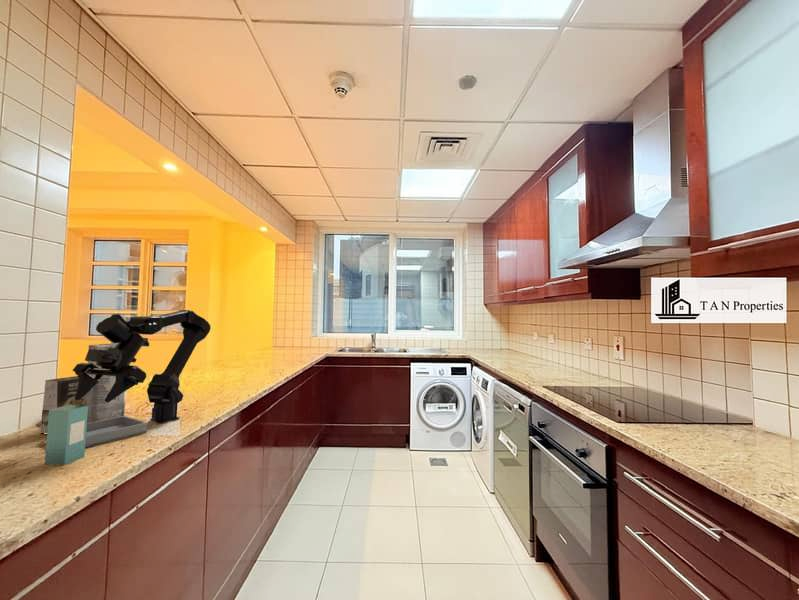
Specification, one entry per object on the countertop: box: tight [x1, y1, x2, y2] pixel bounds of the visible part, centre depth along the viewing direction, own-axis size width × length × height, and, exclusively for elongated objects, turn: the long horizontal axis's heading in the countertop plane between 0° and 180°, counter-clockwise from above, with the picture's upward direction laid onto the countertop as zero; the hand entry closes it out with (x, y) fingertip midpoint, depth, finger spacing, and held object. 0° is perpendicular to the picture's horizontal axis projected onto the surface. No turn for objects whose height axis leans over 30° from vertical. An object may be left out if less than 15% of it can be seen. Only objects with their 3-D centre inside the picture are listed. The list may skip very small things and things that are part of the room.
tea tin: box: [44, 405, 88, 466], centre depth 86 cm, size 5×5×13 cm
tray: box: [85, 415, 148, 449], centre depth 102 cm, size 18×14×3 cm
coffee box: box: [39, 375, 91, 433], centre depth 107 cm, size 9×6×16 cm
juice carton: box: [87, 341, 127, 423], centre depth 118 cm, size 9×10×27 cm
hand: (91, 400), depth 94 cm, fingers open, 9 cm apart
